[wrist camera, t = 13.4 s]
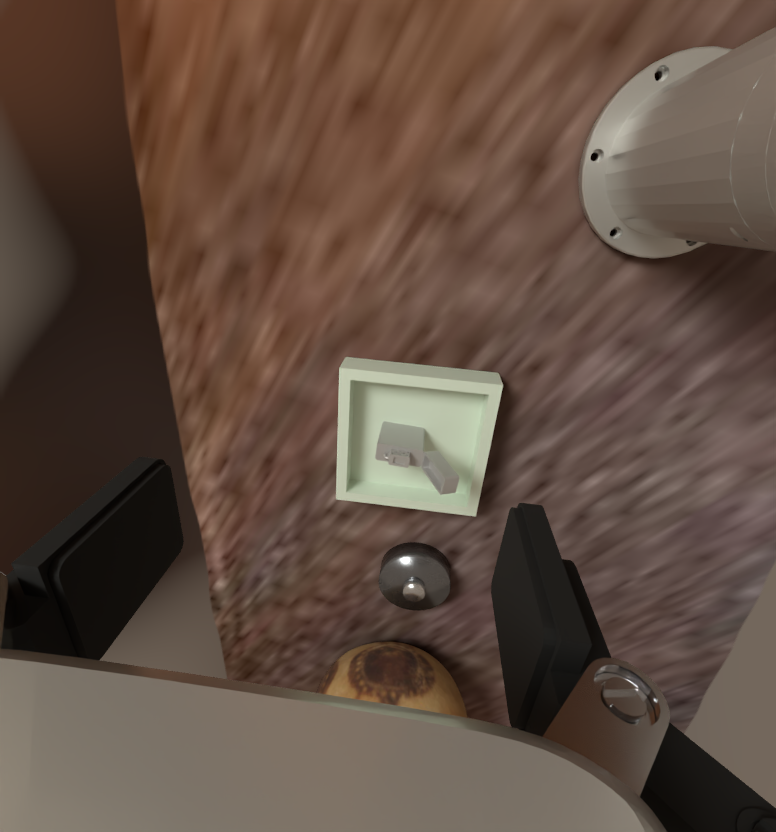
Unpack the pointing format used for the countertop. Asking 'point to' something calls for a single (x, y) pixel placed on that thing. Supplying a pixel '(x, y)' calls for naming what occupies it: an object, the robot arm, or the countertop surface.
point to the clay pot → (394, 678)
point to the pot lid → (415, 576)
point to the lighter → (415, 455)
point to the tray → (422, 407)
